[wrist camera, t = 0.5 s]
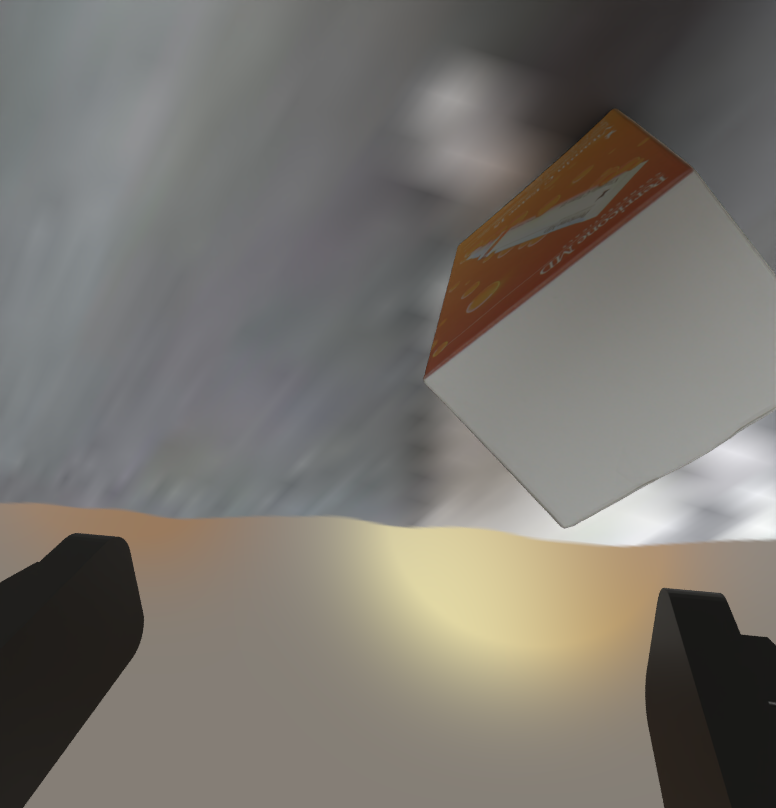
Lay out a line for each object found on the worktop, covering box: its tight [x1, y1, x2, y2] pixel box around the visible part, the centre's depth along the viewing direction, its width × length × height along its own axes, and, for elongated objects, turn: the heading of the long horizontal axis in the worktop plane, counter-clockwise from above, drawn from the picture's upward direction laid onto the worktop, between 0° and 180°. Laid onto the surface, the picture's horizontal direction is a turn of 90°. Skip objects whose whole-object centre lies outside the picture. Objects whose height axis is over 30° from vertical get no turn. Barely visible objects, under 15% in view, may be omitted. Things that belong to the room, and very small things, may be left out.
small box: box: [423, 108, 776, 528], centre depth 22 cm, size 8×6×13 cm
